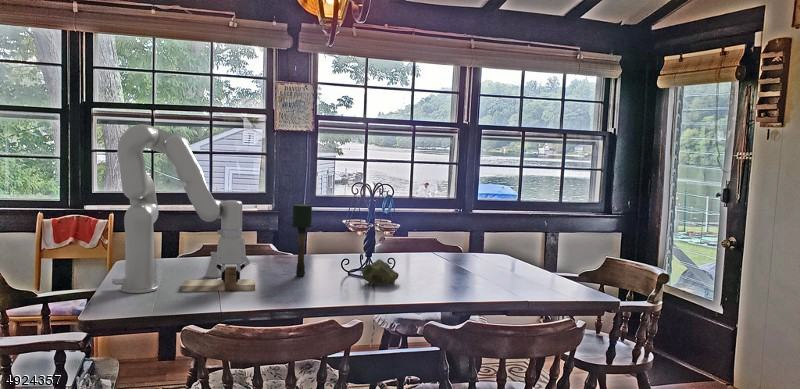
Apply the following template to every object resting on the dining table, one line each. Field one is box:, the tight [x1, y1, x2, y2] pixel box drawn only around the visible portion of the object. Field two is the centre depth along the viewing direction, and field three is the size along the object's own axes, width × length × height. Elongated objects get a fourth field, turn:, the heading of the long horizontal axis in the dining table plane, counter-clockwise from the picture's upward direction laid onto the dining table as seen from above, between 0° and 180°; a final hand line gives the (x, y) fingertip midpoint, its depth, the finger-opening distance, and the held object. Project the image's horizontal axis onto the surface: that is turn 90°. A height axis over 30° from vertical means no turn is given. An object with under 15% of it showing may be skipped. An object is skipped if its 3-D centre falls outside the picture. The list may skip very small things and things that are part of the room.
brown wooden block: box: [225, 265, 237, 291], centre depth 229 cm, size 4×14×8 cm, turn 14°
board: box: [181, 278, 256, 292], centre depth 228 cm, size 26×10×2 cm, turn 104°
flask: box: [204, 251, 222, 279], centre depth 246 cm, size 7×7×10 cm
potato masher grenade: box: [291, 203, 313, 277], centre depth 253 cm, size 8×9×30 cm
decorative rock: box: [361, 258, 399, 286], centre depth 244 cm, size 15×16×10 cm
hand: (230, 281), depth 227 cm, fingers closed on brown wooden block, 4 cm apart
